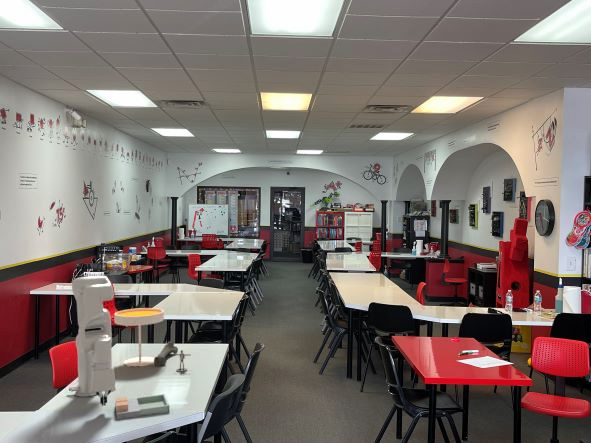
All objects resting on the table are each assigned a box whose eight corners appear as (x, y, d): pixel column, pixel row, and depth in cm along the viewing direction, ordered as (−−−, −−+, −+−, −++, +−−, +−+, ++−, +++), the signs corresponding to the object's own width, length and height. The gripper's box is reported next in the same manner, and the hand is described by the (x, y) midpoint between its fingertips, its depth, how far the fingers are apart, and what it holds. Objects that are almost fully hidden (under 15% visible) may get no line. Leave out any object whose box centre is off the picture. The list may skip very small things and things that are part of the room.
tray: (140, 416, 242) (140, 409, 242) (137, 403, 258) (137, 397, 258) (169, 411, 247) (169, 405, 247) (164, 400, 263) (164, 394, 263)
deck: (117, 419, 239) (117, 413, 239) (115, 406, 255) (115, 401, 255) (140, 416, 242) (140, 410, 242) (137, 403, 258) (137, 398, 258)
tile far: (116, 407, 247) (116, 401, 247) (115, 403, 252) (115, 398, 252) (127, 405, 249) (127, 400, 249) (126, 402, 254) (126, 396, 254)
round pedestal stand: (173, 361, 332) (173, 311, 332) (129, 372, 312) (128, 318, 311) (149, 353, 353) (149, 306, 353) (106, 362, 333) (106, 312, 332)
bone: (164, 353, 354) (164, 339, 354) (178, 353, 354) (178, 339, 354) (149, 367, 322) (149, 352, 322) (165, 367, 321) (165, 352, 321)
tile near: (116, 411, 242) (116, 405, 242) (116, 407, 246) (116, 402, 246) (128, 409, 243) (128, 404, 243) (127, 406, 248) (127, 400, 248)
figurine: (192, 369, 315) (192, 349, 315) (188, 372, 309) (188, 352, 309) (174, 368, 317) (174, 348, 317) (170, 372, 311) (170, 351, 310)
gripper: (85, 369, 241) (86, 409, 241) (120, 365, 247) (121, 405, 247) (85, 365, 248) (86, 404, 248) (119, 361, 254) (120, 400, 254)
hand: (103, 404), depth 248 cm, fingers closed
